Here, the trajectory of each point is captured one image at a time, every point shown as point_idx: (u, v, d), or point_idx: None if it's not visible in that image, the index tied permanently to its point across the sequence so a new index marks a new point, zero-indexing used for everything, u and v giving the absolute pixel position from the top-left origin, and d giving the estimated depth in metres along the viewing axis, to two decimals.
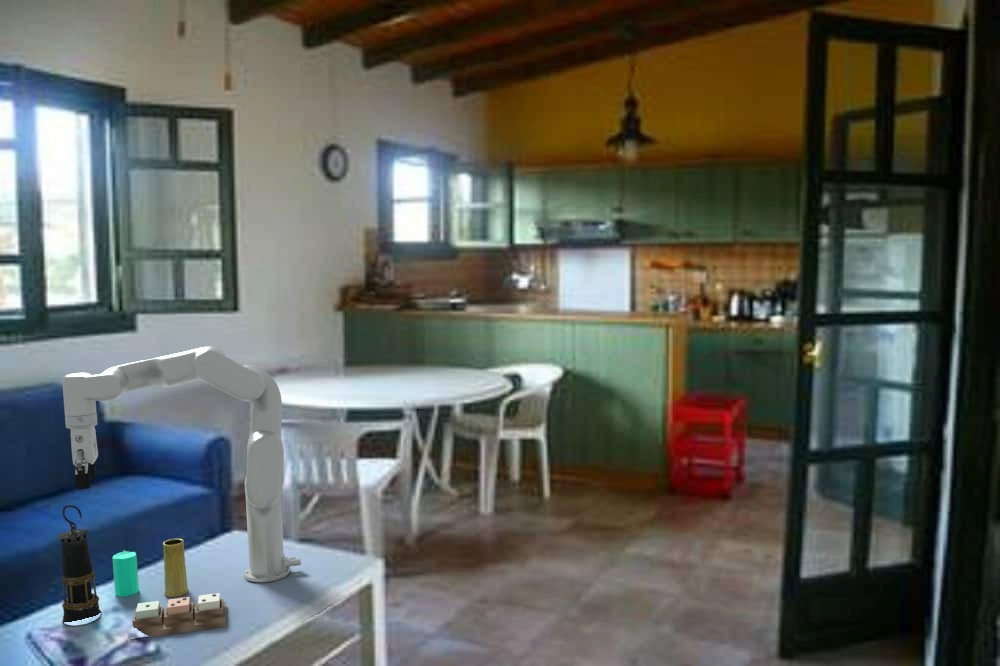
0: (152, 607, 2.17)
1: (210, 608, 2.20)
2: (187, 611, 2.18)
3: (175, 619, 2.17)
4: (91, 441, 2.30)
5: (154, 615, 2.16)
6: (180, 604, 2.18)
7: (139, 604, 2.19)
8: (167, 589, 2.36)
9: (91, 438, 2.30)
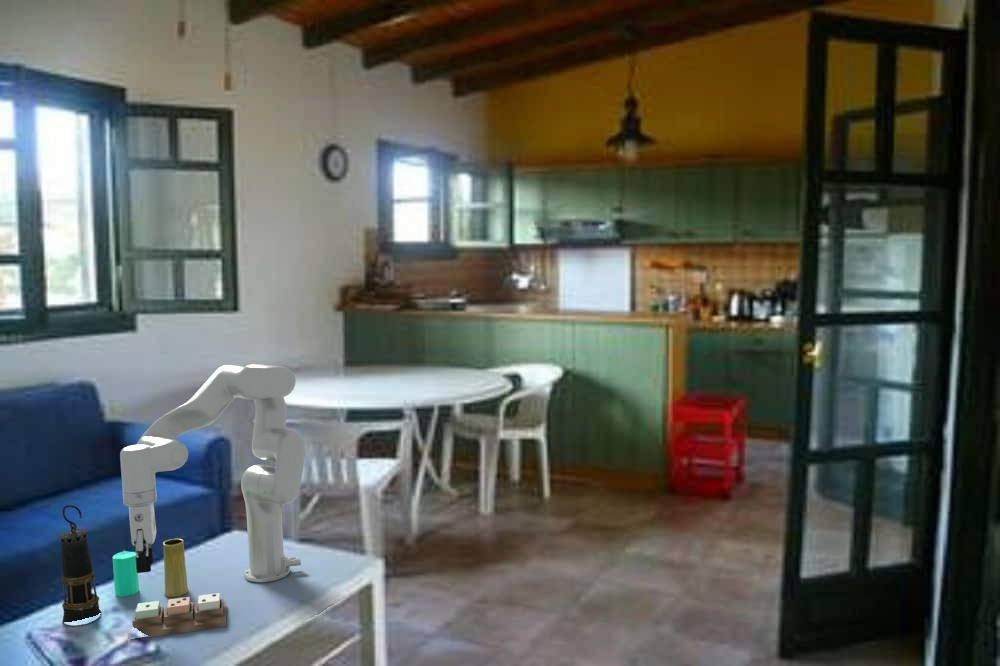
0: (152, 607, 2.17)
1: (210, 608, 2.20)
2: (187, 611, 2.18)
3: (175, 619, 2.17)
4: (151, 519, 2.12)
5: (154, 615, 2.16)
6: (180, 604, 2.18)
7: (139, 604, 2.19)
8: (167, 589, 2.36)
9: (151, 516, 2.12)
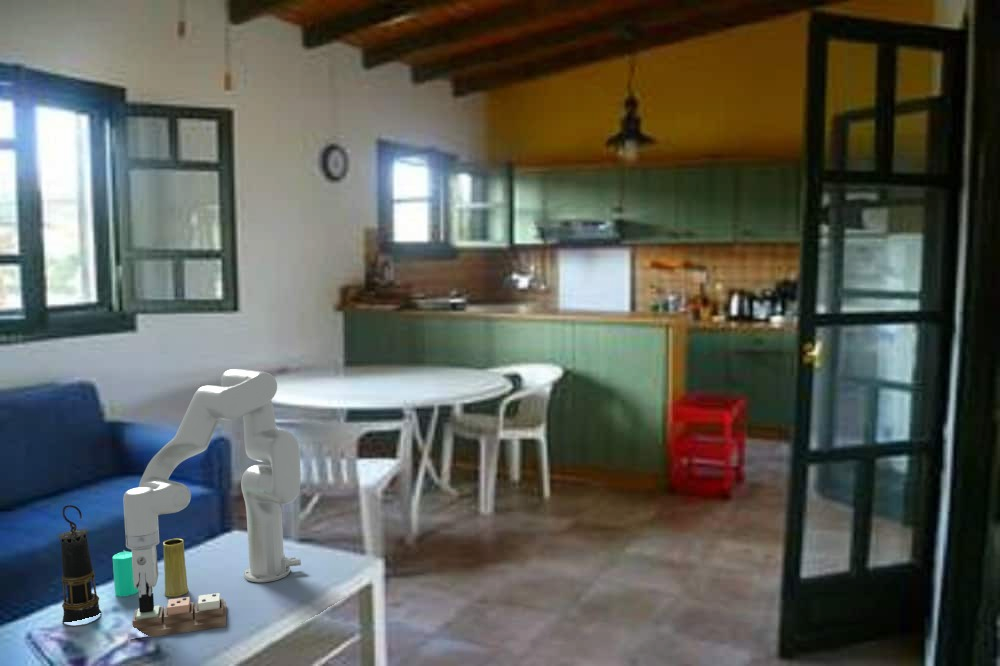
0: (152, 612, 2.17)
1: (210, 608, 2.20)
2: (187, 611, 2.18)
3: (175, 619, 2.17)
4: (153, 562, 2.13)
5: None
6: (180, 604, 2.18)
7: None
8: (167, 589, 2.36)
9: (153, 559, 2.14)
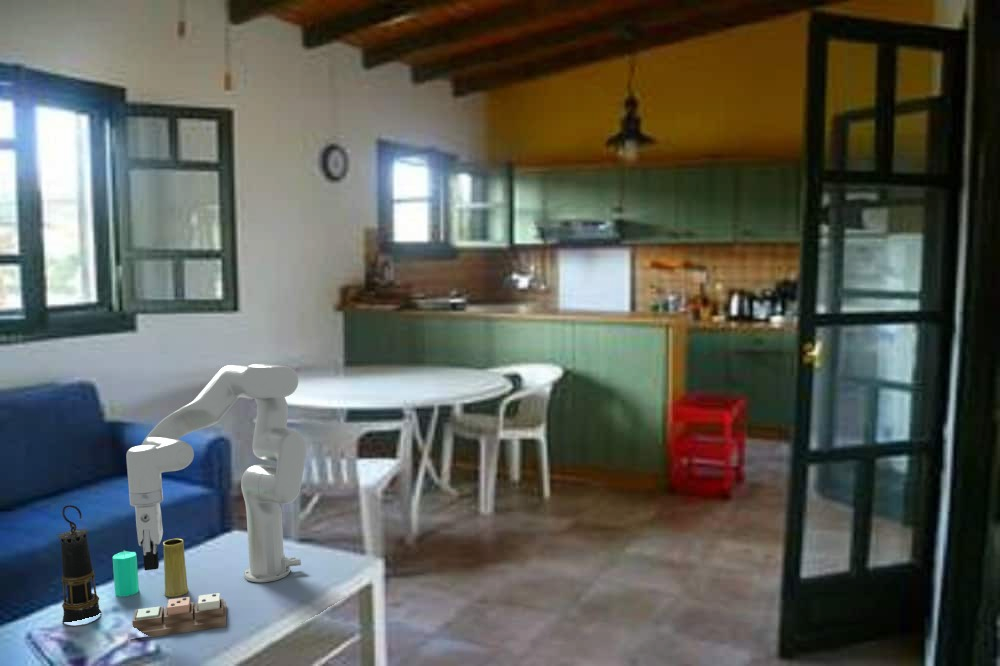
0: (152, 613, 2.17)
1: (210, 608, 2.20)
2: (187, 611, 2.18)
3: (175, 619, 2.17)
4: (157, 520, 2.13)
5: None
6: (180, 604, 2.18)
7: (139, 610, 2.19)
8: (167, 589, 2.36)
9: (157, 516, 2.13)
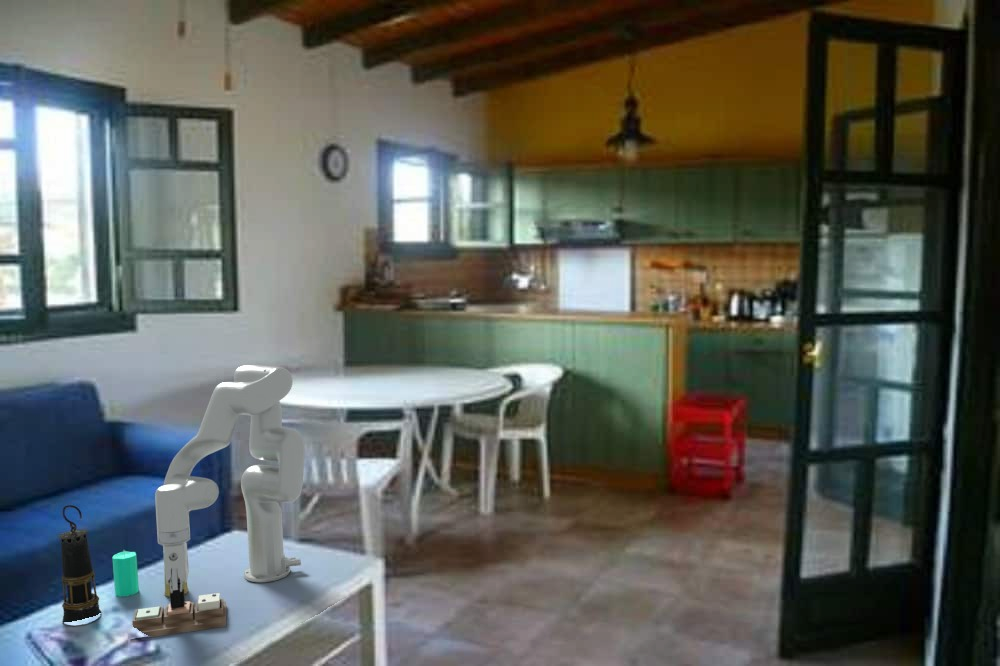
0: (152, 613, 2.17)
1: (210, 608, 2.20)
2: None
3: (175, 619, 2.17)
4: (185, 558, 2.15)
5: None
6: (180, 608, 2.19)
7: (139, 610, 2.19)
8: (167, 589, 2.36)
9: (185, 555, 2.16)
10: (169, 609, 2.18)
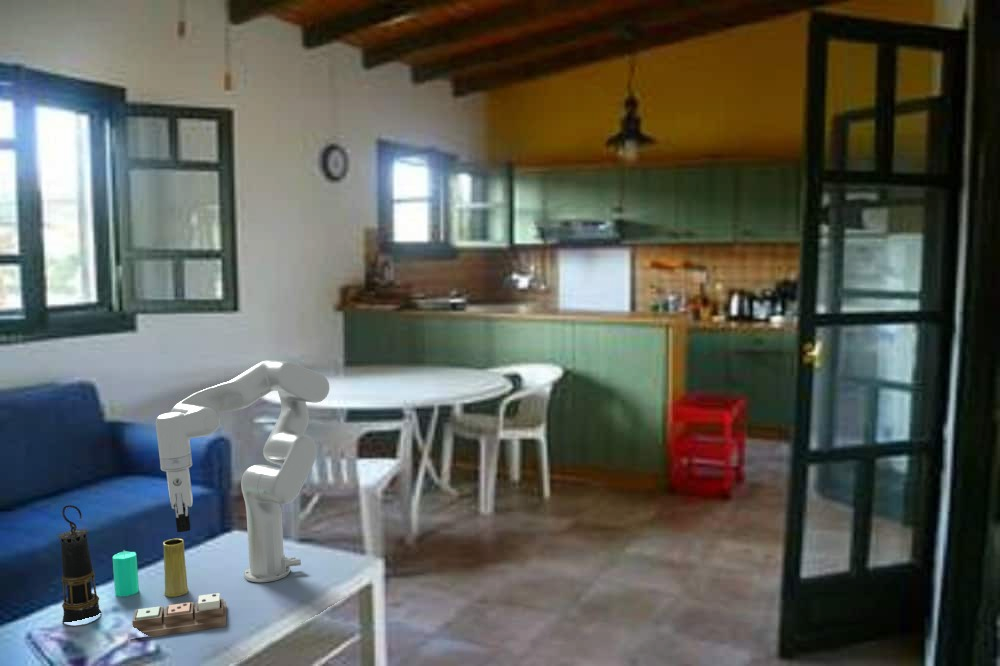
0: (152, 613, 2.17)
1: (210, 608, 2.20)
2: None
3: (175, 619, 2.17)
4: (188, 483, 2.21)
5: None
6: (180, 610, 2.19)
7: (139, 610, 2.19)
8: (167, 589, 2.36)
9: (188, 480, 2.21)
10: (169, 610, 2.18)
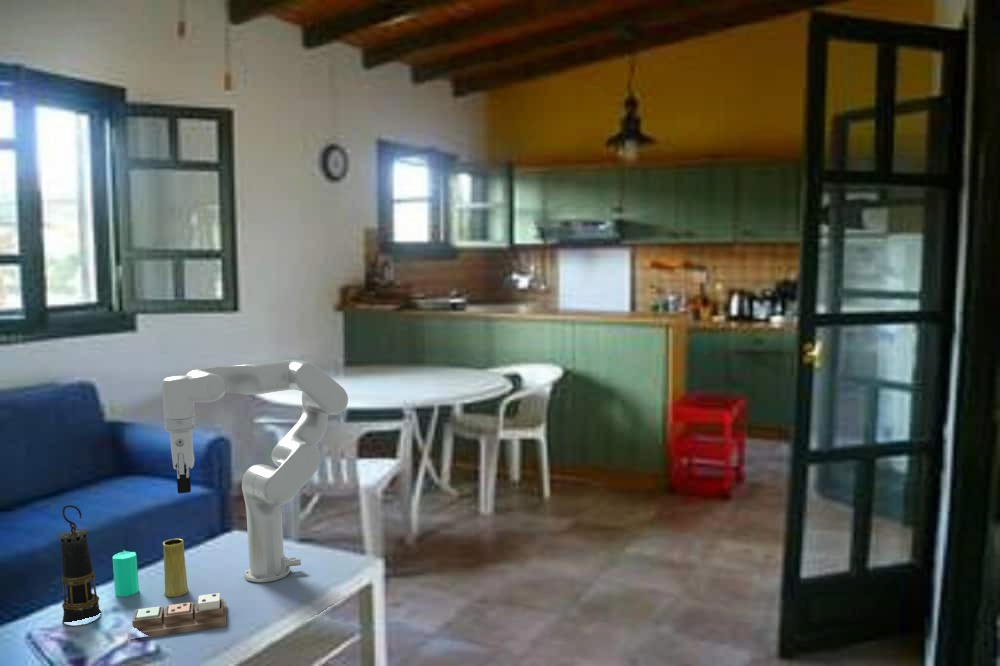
0: (152, 613, 2.17)
1: (210, 608, 2.20)
2: None
3: (175, 619, 2.17)
4: (191, 445, 2.27)
5: None
6: (180, 610, 2.19)
7: (139, 610, 2.19)
8: (167, 589, 2.36)
9: (191, 442, 2.28)
10: (169, 610, 2.18)
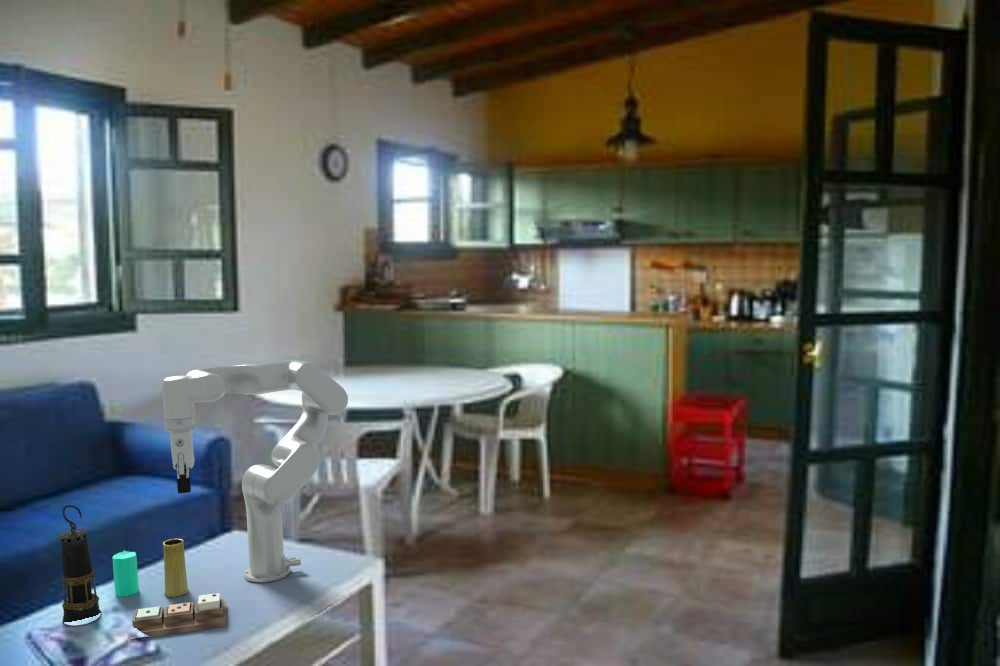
0: (152, 613, 2.17)
1: (210, 608, 2.20)
2: None
3: (175, 619, 2.17)
4: (191, 445, 2.27)
5: None
6: (180, 610, 2.19)
7: (139, 610, 2.19)
8: (167, 589, 2.36)
9: (191, 442, 2.28)
10: (169, 610, 2.18)
